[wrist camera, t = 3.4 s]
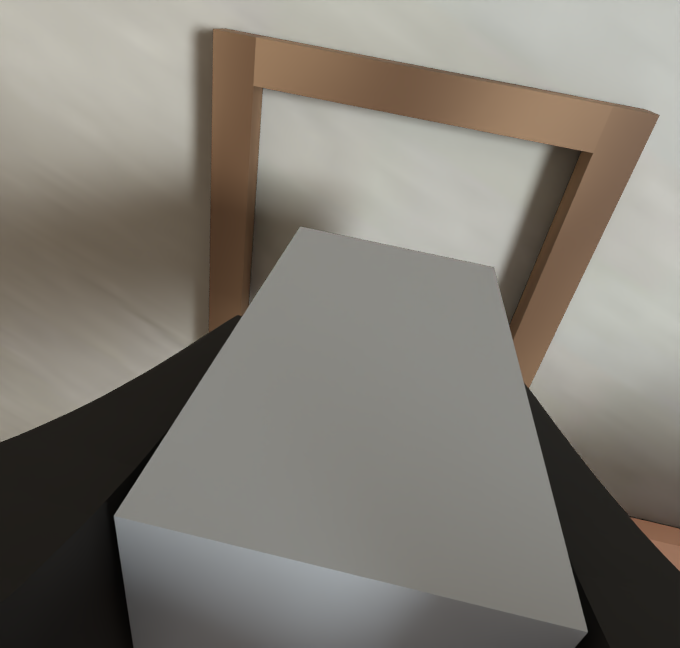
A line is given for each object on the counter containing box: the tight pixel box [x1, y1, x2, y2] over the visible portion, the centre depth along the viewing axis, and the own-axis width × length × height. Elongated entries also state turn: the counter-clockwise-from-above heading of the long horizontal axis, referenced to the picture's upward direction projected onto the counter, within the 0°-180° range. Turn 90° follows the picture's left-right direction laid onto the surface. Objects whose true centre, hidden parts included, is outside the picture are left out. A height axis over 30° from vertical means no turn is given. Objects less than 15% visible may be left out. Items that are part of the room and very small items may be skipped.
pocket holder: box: [209, 29, 659, 388], centre depth 14 cm, size 10×10×1 cm
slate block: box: [114, 226, 588, 648], centre depth 8 cm, size 4×4×7 cm
